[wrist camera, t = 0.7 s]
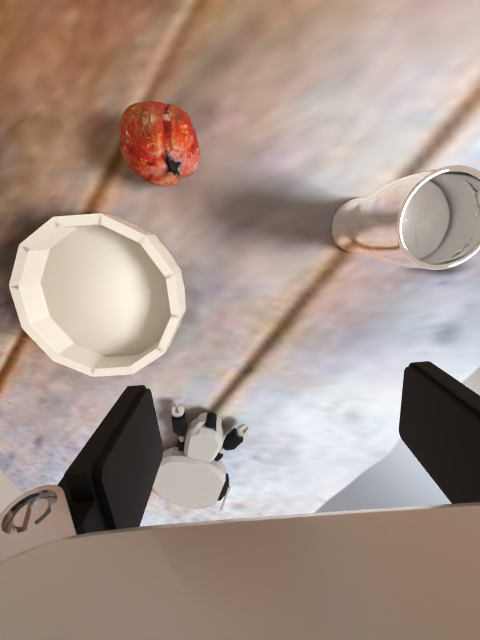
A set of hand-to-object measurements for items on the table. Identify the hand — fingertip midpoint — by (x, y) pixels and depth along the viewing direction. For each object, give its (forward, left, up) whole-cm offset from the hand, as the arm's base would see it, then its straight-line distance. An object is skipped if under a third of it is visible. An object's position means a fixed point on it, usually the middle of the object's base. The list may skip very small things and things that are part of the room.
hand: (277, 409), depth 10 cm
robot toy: (+24, -9, -26) cm, 37 cm away
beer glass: (-6, +13, -26) cm, 30 cm away
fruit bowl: (0, -17, -26) cm, 31 cm away
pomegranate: (-15, -8, -26) cm, 31 cm away
